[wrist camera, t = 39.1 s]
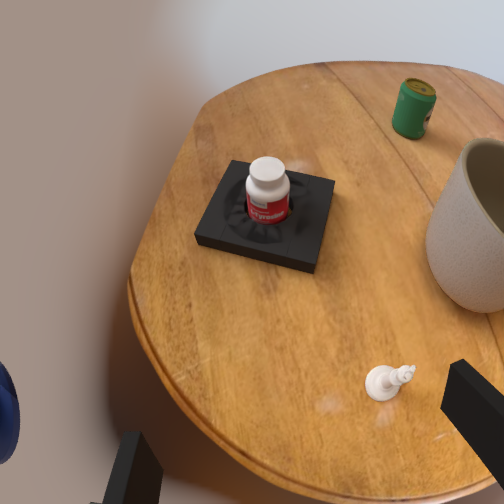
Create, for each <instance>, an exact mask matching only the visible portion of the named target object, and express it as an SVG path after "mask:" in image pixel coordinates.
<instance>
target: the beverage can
mask: <svg viewBox="0 0 504 504" xmlns="http://www.w3.org/2000/svg"><path fill="white" fill-rule="evenodd" d="M435 102H436V94H435V89H434V88H433V87H432V86H431V85H429V84H428V83H426V82H424V81H422V80H419V79H416V78H407V79H406V80H405V81H404V82H403V83H402V84H401V87H400V91H399V95H398V99H397V103H396V107H395V111H394V115H393V118H392V123H393V128H394V129H395V131H396V132H397V133H399V134H400V135H401V136H403V137H406V138H409V139H419V138H420V137H421V136H423V135H424V133H425V130H426V128H427V125H428V122H429V119H430V116H431V114H432V111H433V108H434V105H435Z"/></svg>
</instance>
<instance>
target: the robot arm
mask: <svg viewBox="0 0 504 504" xmlns="http://www.w3.org/2000/svg"><path fill="white" fill-rule="evenodd" d="M440 409H441V410H442V411H443V412H444V414H445V415H446V416H447V417H448V418H449V420H450V421H451V422H452V423H453V425H454V426H455V427H456V428H457V430H458V431H459V432H460V433H461V435H462V436H463V437H464V439H465V440H466V441H467V442H468V444H469V445H470V446H471V447H472V449H473V450H474V451H475V453H476V454H477V455H478V457H479V458H480V459H481V460H482V462H483V463H484V464H485V466H486V467H487V468H488V470H489V471H490V472H491V474H492V475H493V476H494V478H495V479H496V480H497V482H498V483H499V484H500V486H501V487H502V488H503V490H504V396H503V395H502V394H501V393H500V392H499V391H498V390H497V389H496V388H495V387H494V386H493V385H492V384H491V383H489V382H488V381H487V380H486V379H485V378H484V377H483V376H482V375H481V374H480V373H479V372H478V371H476V370H475V369H474V368H473V367H472V366H471V365H470V364H469V363H468V362H466V361H465V360H464V359H461V360H459V361H457V362H454V363H452V364H450V369H449V374H448V379H447V383H446V387H445V392H444V396H443V400H442V404H441V407H440ZM162 477H163V468H162V467H161V465H160V463H159V462H158V460H157V458H156V457H155V455H154V454H153V452H152V450H151V448H150V447H149V445H148V443H147V442H146V440H145V438H144V436H143V434H142V432H141V431H139V432H124V434H123V437H122V441H121V443H120V446H119V449H118V453H117V456H116V459H115V462H114V465H113V469H112V472H111V475H110V479H109V482H108V485H107V489H106V492H105V496H104V499H103V503H102V504H158V503H159V496H160V490H161V483H162ZM90 504H101V503H94V502H91V503H90Z"/></svg>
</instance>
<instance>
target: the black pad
mask: <svg viewBox="0 0 504 504" xmlns="http://www.w3.org/2000/svg"><path fill="white" fill-rule="evenodd" d="M251 164H252V163H247V162H241V161H235V160H232V161H231V162H230V164H229V166H228V168H227V170H226V172H225V174H224V176H223V177H222V179H221V181H220V183H219V185H218V187H217V189H216V191H215V193H214V195H213V197H212V199H211V201H210V203H209V205H208V207H207V208H206V210H205V212H204V214H203V216H202V218H201V220H200V222H199V224H198V226H197V228H196V231H195V233H194V235H195V238H196V240H197V243H198V244H199V245H203V246H206V247H210V248H214V249H218V250H222V251H226V252H229V253H233V254H237V255H241V256H245V257H249V258H253V259H257V260H260V261H264V262H268V263H272V264H276V265H280V266H284V267H288V268H292V269H295V270H299V271H303V272H307V273H311V274H313V273H314V269H315V265H316V262H317V258H318V254H319V250H320V246H321V242H322V237H323V233H324V229H325V225H326V221H327V216H328V212H329V208H330V203H331V199H332V194H333V189H334V185H335V181H334V180H330V179H326V178H321V177H317V176H312V175H308V174H303V173H298V172H293V171H289V170H285V174H286V175H287V177H288V179H289V182H290V191H289V208H290V209H291V211H292V213H291V215H290V216H289V217H288V218H287V219H286V220H285V221H283V222H280V223H278V224H274V225H263V224H259V223H256V222H254V221H253V220H251V219H250V218H249V217H248V216H247V214H246V213H247V210H248V205H247V194H246V180H247V178H248V176H249V175H250V165H251Z"/></svg>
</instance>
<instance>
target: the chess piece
mask: <svg viewBox="0 0 504 504" xmlns="http://www.w3.org/2000/svg"><path fill="white" fill-rule="evenodd" d="M415 368H416V366H415V365H412V366H411V367H410V366H408V365H404V366H401V367H400V368H397V369H394V368H393V367H391V366H387V365H381V366H377V367H375V368H373V369H372V370H371V371H370V372H369V373H368V375H367V377H366V381H365V388H366V391H367V393H368V395H369V396H370V397H371V398H372V399H374V400H376V401H387V400H389V399H391V398H392V397H394V396H395V395H396V394H397V392H398V390H399V388H400V386H401V385H402V384H403V383H408V382H410V381H411V380H412V378H413V374H414V372H415Z"/></svg>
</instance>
